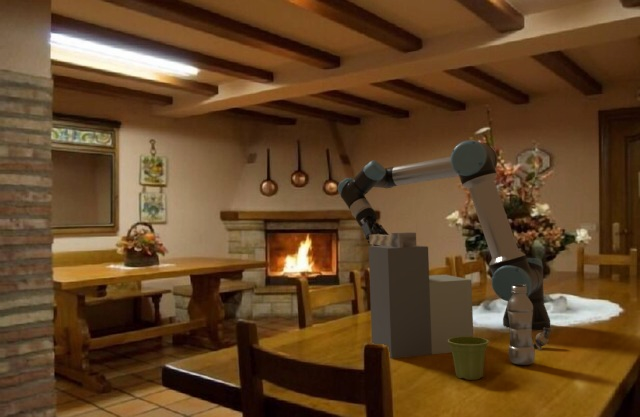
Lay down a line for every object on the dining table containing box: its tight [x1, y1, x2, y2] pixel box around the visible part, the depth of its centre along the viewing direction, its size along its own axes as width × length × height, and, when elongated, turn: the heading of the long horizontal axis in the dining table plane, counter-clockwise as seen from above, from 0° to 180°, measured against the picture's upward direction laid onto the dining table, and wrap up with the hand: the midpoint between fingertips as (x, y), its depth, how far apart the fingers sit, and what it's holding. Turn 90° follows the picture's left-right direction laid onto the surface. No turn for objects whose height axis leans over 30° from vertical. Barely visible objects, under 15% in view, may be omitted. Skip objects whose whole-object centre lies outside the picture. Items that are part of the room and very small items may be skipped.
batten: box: [368, 231, 417, 248], centre depth 165 cm, size 28×5×4 cm, turn 14°
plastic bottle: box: [506, 285, 536, 366], centre depth 140 cm, size 6×7×20 cm
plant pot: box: [448, 336, 489, 381], centre depth 130 cm, size 9×9×9 cm
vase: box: [533, 327, 553, 351], centre depth 156 cm, size 5×5×6 cm
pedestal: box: [368, 244, 474, 359], centre depth 160 cm, size 16×25×30 cm, turn 104°
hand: (393, 258), depth 192 cm, fingers open, 13 cm apart
